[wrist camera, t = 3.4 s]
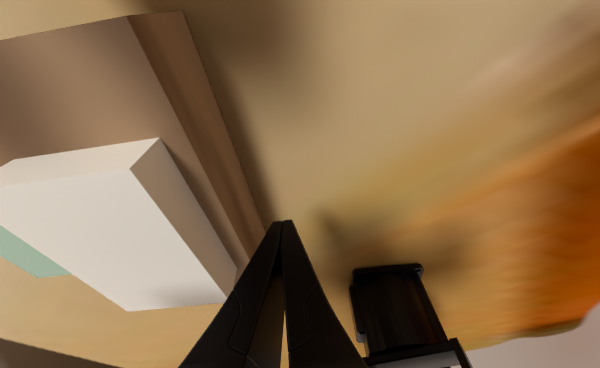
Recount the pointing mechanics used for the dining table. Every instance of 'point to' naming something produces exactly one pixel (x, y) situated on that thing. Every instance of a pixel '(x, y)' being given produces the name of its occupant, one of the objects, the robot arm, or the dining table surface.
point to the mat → (27, 256)
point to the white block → (119, 224)
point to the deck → (128, 109)
